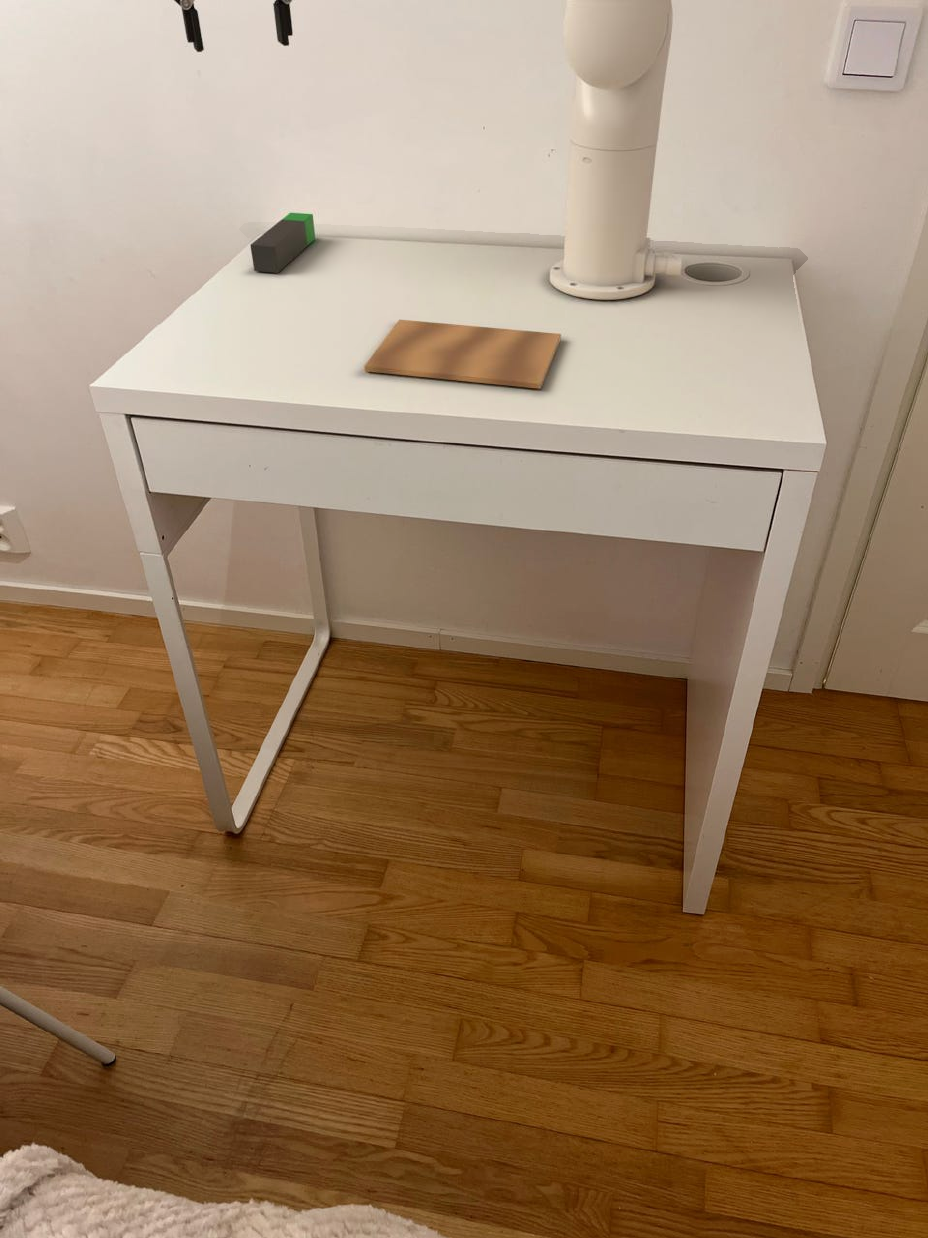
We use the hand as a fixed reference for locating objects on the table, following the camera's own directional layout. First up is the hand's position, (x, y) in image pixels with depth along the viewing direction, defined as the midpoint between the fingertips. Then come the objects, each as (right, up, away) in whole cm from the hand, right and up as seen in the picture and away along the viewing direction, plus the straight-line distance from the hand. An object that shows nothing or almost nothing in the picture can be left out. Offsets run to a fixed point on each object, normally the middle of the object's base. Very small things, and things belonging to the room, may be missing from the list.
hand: (241, 46), depth 106 cm
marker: (+2, -18, +15) cm, 23 cm away
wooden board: (+25, -38, -9) cm, 46 cm away
